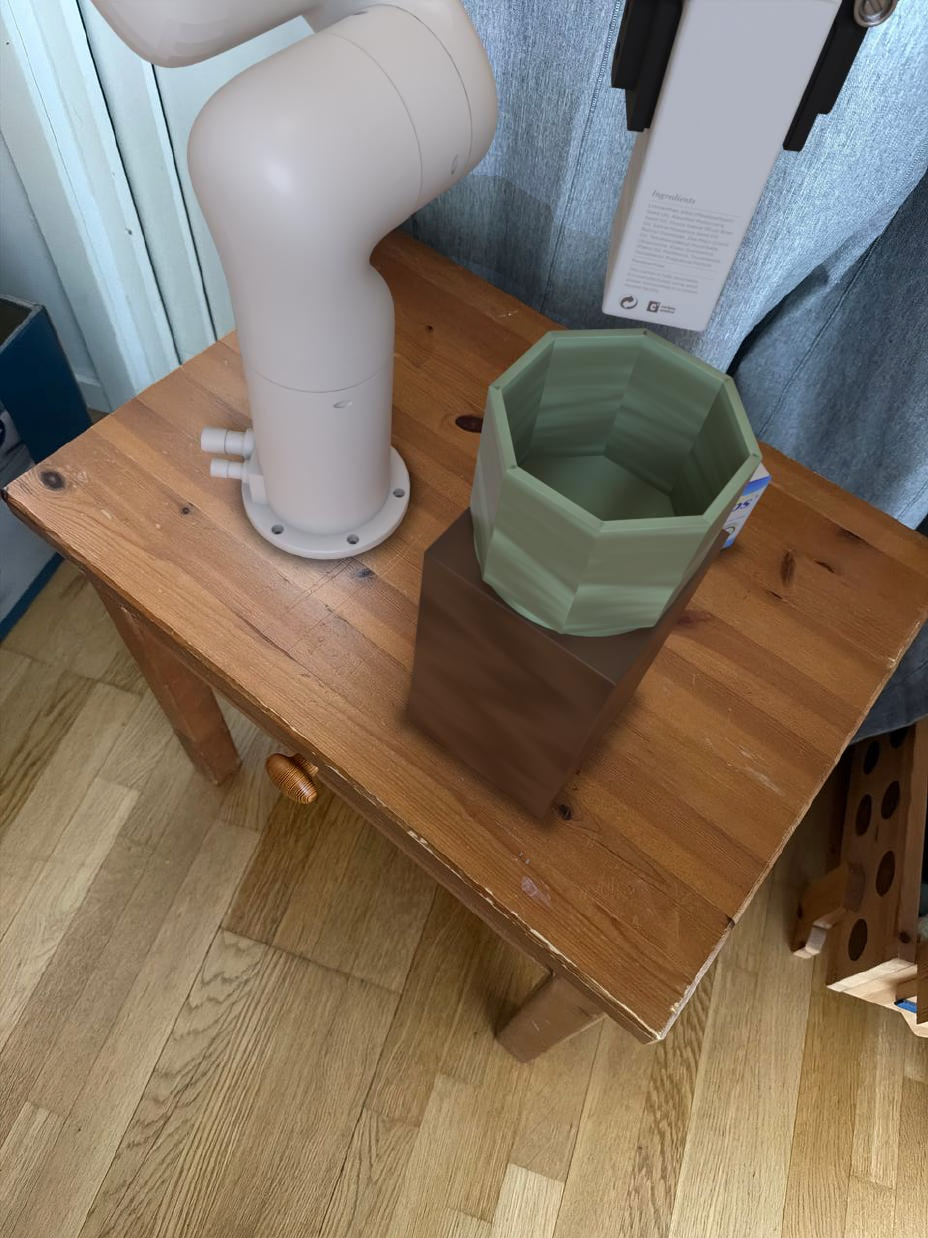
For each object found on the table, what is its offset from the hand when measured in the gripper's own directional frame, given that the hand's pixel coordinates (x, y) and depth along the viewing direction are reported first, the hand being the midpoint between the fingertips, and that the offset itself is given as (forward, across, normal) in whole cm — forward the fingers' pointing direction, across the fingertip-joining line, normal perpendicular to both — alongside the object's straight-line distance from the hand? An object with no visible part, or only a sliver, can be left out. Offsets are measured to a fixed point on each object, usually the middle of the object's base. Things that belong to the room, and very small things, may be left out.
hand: (711, 112), depth 31 cm
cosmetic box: (+7, 0, 0) cm, 7 cm away
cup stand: (+38, +1, +5) cm, 39 cm away
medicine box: (+39, -11, -10) cm, 41 cm away
